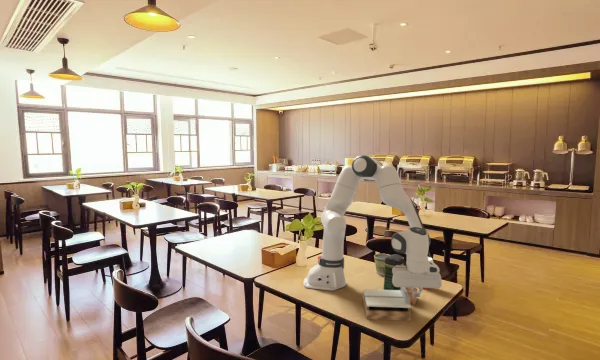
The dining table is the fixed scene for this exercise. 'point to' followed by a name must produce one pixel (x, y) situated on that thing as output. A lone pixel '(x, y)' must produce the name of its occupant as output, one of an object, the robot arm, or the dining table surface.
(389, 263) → the coffee jar
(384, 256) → the ceramic cup
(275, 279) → the dining table surface
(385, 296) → the lid
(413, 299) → the terracotta pot
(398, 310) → the wooden box
